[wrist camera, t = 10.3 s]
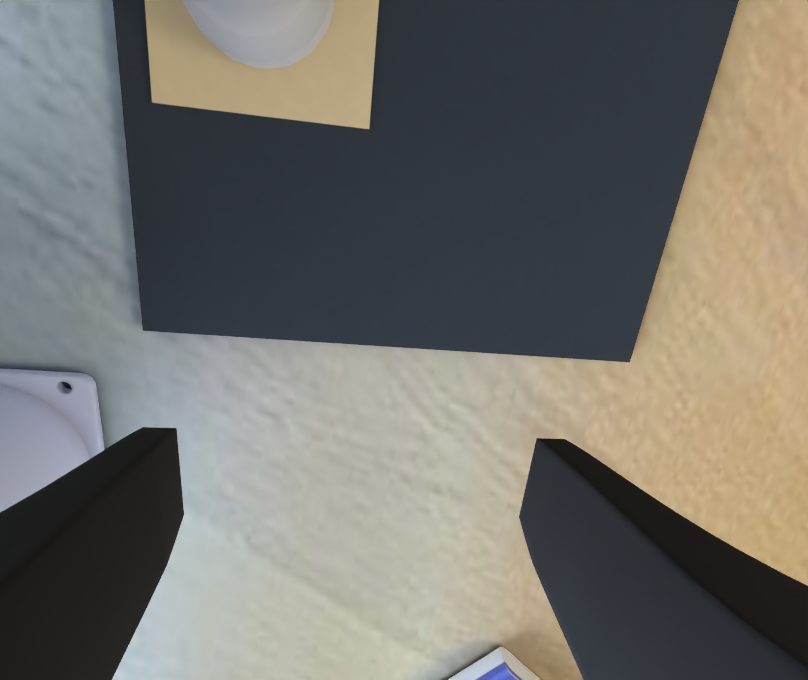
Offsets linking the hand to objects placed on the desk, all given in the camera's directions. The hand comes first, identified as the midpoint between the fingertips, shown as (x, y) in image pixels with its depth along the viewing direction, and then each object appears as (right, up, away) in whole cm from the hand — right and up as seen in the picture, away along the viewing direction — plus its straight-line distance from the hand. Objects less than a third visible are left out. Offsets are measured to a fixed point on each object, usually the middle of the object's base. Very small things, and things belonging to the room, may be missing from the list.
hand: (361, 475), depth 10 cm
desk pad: (+2, +10, +7) cm, 13 cm away
